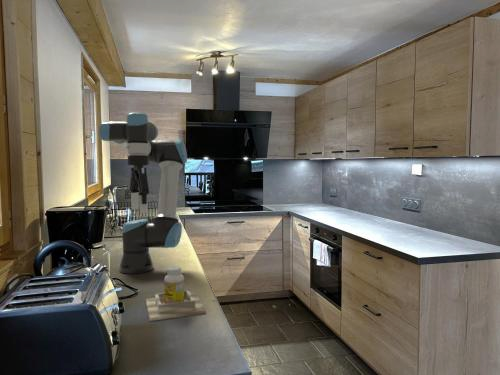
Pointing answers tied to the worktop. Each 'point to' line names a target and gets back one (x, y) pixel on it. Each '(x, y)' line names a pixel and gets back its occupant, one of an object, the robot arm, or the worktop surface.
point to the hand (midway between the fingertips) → (139, 211)
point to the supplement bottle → (174, 285)
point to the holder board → (174, 307)
